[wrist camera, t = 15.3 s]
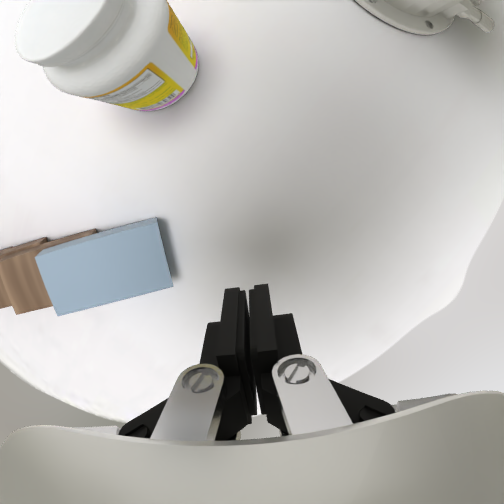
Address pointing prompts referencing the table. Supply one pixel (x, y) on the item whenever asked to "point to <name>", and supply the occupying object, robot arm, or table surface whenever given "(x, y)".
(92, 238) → the domino
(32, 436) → the robot arm
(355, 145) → the table surface
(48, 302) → the domino
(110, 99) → the supplement bottle
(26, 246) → the domino
